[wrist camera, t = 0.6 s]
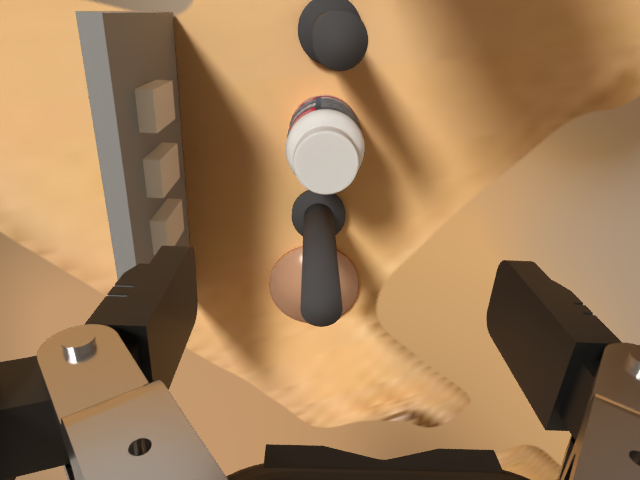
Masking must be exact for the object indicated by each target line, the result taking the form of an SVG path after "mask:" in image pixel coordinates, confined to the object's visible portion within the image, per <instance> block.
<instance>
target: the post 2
mask: <svg viewBox="0 0 640 480" xmlns="http://www.w3.org/2000/svg"><path fill="white" fill-rule="evenodd" d="M292 222H293V225H294V227H295V229H296V230H297V231H298V233H299V234H301V235H302V236H303V254H302V280H301V306H300V311H301V315H302V317H303V318H304V320H305V321H307V322H308V323H309V324H311V325H314V326H320V327H323V326H329V325H331V324H333V323H335V322H336V321H337V320H338V319H339V318H340V317H341V315H342V311H343V306H342V297H341V287H340V277H339V268H338V258H337V248H336V239H335V235H336V234H337V233H338V232H339V231H340V230H341V229H342V227H343V225H344V222H345V210H344V205H343V203H342V201H341V199H340V198H339V197H338V196H337V195H336V194H335V193H334V194H318V193H315V192H312V191H310V190H308V191H305V192H304V193H302V194H301V195H300V196H299V197H298V198H297V199H296V201H295V203H294V205H293V209H292Z"/></svg>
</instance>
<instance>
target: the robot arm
mask: <svg viewBox="0 0 640 480" xmlns="http://www.w3.org/2000/svg"><path fill="white" fill-rule="evenodd" d="M197 302H198V301H197V284H196V268H195V254H194V250H193V248H192V247H186V246H161V247H160V249H159V250H158V252H157V253H156V255H155V256H154V258H153V259H152V261H151V262H150V263H149V264H144V263H139V264H138V265H136V266H134V267H133V268H131V269H129V270H128V271H126V272H124V273H123V275H122V276H121V277H120V279H119V280H118V281H117V282H116V284H115V287H113V288H112V289H111V290H110V292H109V293H108V296H106V297H105V298H104V300H103V301H102V302H101V303H100V305H99V306H98V307H97V309H96V310H95V311H94V313H93V314H92V315H91V317H90V318H89V319H88V321H87V322H86V323H85V325H80V326H76V327H71V328H68V329H65V330H63V331H60V332H58V333H56V334H54V335H53V336H51V337H50V338H48V339H47V340H46V341H45V342H44V343H43V344H42V345H41V346H40V348H39V350H38V351H37V356H33V357H28V358H22V359H16V360H11V361H4V362H0V480H15V478H16V477H17V476H21V475H25V474H29V473H34V472H38V471H41V470H46V469H50V468H54V467H58V466H63V465H64V469H65V472H66V475H67V478H68V480H530V479H528V478H525V477H523V476H520V475H517V474H515V473H512V472H509V471H505V470H502V468H501V466H500V464H499V461H498V459H497V457H496V454H495V452H494V450H467V449H466V450H464V449H435V450H431V451H426V452H421V453H417V454H412V455H408V456H403V457H398V458H393V459H388V460H379V459H375V458H370V457H366V456H362V455H358V454H354V453H350V452H345V451H341V450H338V449H333V448H329V447H325V446H305V445H304V446H303V445H266V450H265V460H264V463H263V464H259V465H255V466H251V467H248V468H245V469H242V470H240V471H237V472H235V473H233V474H231V475H228V476H225V474H224V473H223V471H222V470H221V468H220V467H219V465H218V464H217V462H216V461H215V459H214V458H213V456H212V455H211V453H210V452H209V450H208V449H207V447H206V446H205V444H204V443H203V441H202V440H201V438H200V437H199V435H198V434H197V433H196V431H195V429H194V428H193V427H192V425H191V424H190V422H189V420H188V419H187V418H186V416H185V415H184V413H183V411H182V410H181V408H180V407H179V406H178V404H177V402H176V401H175V400H174V398H173V396H172V395H171V393H170V392H169V387H170V385H171V382H172V379H173V377H174V374H175V372H176V370H177V367H178V364H179V362H180V359H181V357H182V354H183V352H184V349H185V347H186V344H187V342H188V339H189V336H190V334H191V331H192V329H193V326H194V324H195V320H196V315H197ZM487 328H488V331H489V334H490V336H491V338H492V339H493V341H494V343H495V345H496V346H497V348H498V350H499V351H500V353H501V355H502V357H503V358H504V360H505V362H506V363H507V365H508V367H509V368H510V370H511V372H512V374H513V375H514V377H515V379H516V380H517V382H518V384H519V386H520V387H521V389H522V391H523V392H524V394H525V396H526V398H527V399H528V401H529V403H530V404H531V406H532V408H533V410H534V411H535V413H536V415H537V416H538V418H539V420H540V421H541V423H542V425H543V427H544V428H545V430H558V431H560V430H561V431H570V433H571V435H572V436H571V438H570V441H569V444H568V446H567V449H566V452H565V456H564V459H563V462H562V466H561V469H560V472H559V476H558V479H557V480H640V345H636V344H630V343H622V342H621V341H620V340H619V339H618V338H617V337H616V336H615V335H614V334H613V333H612V332H611V331H610V330H609V329H608V328H607V327H606V326H605V325H604V324H603V323H602V322H601V321H600V320H599V319H598V318H597V317H596V316H595V315H593V314H592V312H591V311H590V310H589V309H588V308H587V307H586V306H585V305H583V303H582V302H581V301H580V300H579V299H578V298H577V297H576V296H575V295H574V294H573V293H572V292H571V291H570V290H568V289H567V288H565V287H563V286H562V285H560V284H558V283H556V282H554V281H552V280H551V279H550V278H549V277H548V276H547V275H546V274H545V273H544V272H543V271H542V270H541V269H540V268H539V267H538V266H537V265H536V264H535V263H534V262H532V261H506V260H504V261H502V262H501V263H500V265H499V267H498V269H497V273H496V278H495V282H494V285H493V290H492V294H491V298H490V302H489V306H488V310H487Z"/></svg>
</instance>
